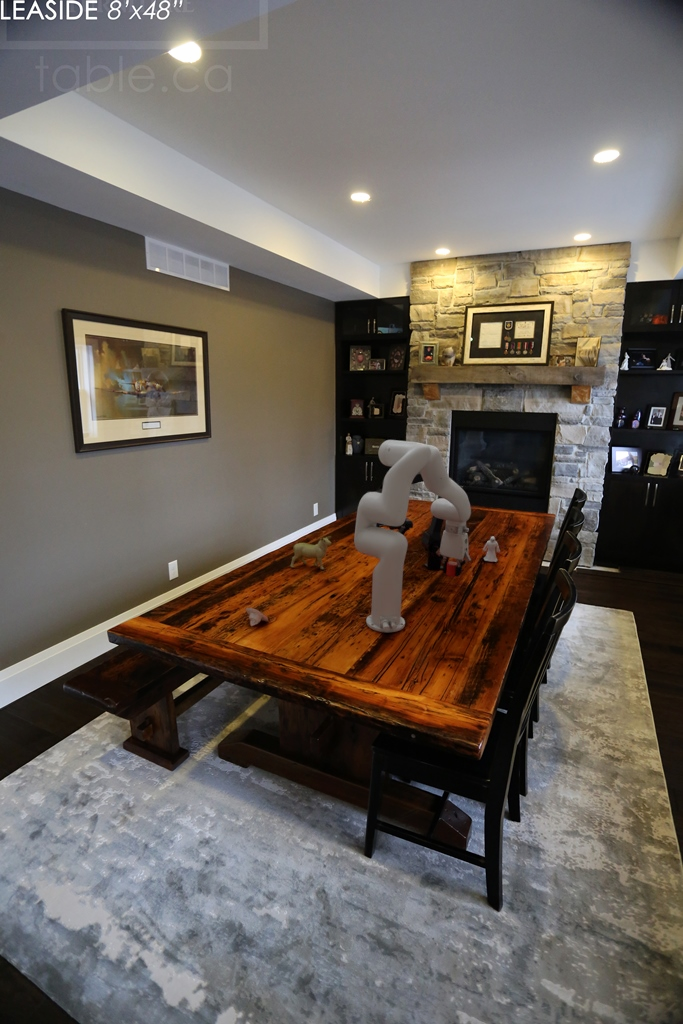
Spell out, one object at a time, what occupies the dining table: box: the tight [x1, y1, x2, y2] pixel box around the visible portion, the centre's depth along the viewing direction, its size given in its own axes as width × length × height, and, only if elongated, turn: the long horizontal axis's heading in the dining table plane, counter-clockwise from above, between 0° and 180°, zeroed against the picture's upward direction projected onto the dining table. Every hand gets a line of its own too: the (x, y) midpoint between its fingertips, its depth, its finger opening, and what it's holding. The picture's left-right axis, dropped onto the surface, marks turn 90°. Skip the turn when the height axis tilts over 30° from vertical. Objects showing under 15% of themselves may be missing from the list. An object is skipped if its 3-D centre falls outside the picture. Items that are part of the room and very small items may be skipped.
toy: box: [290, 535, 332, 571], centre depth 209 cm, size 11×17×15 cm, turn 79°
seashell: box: [245, 607, 269, 627], centre depth 160 cm, size 8×5×8 cm
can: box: [445, 560, 457, 578], centre depth 194 cm, size 4×4×5 cm
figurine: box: [482, 535, 501, 563], centre depth 223 cm, size 8×8×12 cm
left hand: (451, 573), depth 194 cm, fingers closed on can, 4 cm apart
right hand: (388, 544), depth 206 cm, fingers open, 9 cm apart
